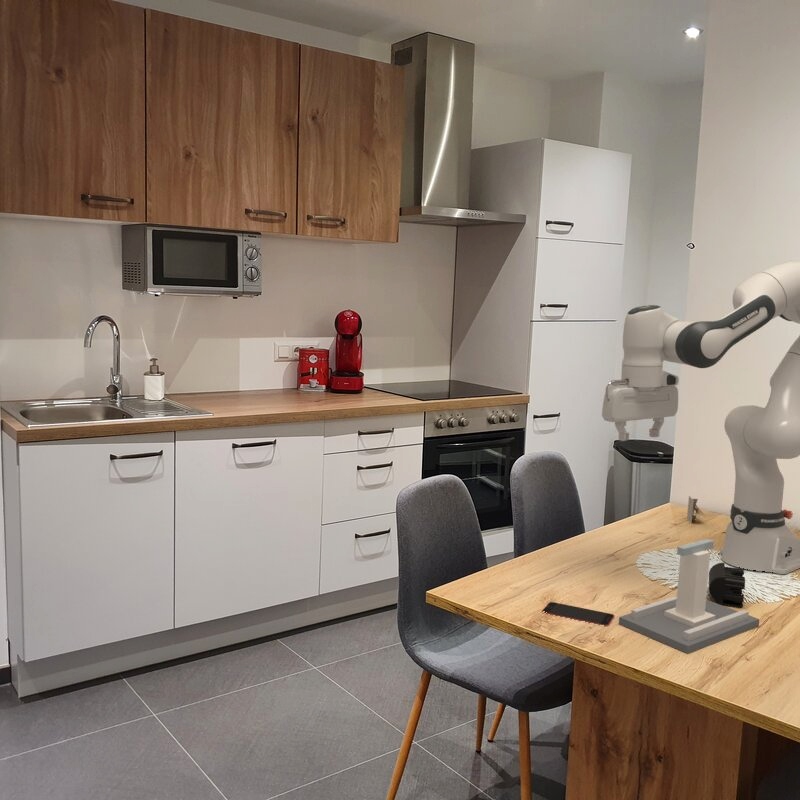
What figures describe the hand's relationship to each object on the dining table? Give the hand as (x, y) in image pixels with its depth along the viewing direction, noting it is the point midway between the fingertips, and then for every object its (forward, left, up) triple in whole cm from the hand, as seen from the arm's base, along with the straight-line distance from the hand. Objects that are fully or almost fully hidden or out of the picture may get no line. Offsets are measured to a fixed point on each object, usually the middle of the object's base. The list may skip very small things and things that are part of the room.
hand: (639, 438), depth 189 cm
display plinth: (+8, +25, -33) cm, 42 cm away
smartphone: (+25, +11, -34) cm, 44 cm away
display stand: (+8, +25, -32) cm, 41 cm away
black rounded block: (-11, +18, -34) cm, 40 cm away
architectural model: (-54, -29, -34) cm, 70 cm away
